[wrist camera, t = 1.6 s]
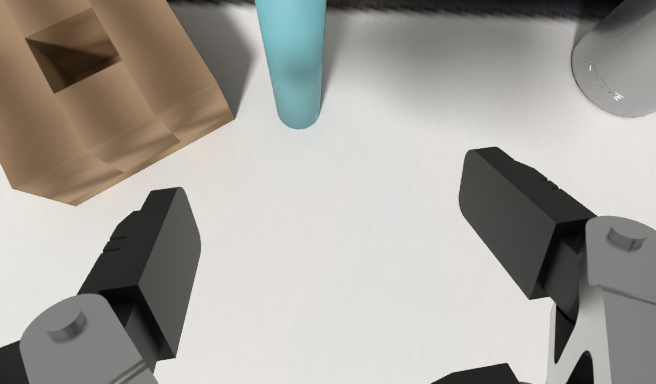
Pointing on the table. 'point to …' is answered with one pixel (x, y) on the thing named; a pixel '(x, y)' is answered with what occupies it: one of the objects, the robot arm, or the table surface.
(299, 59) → the pin
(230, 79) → the table surface
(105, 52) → the socket block
